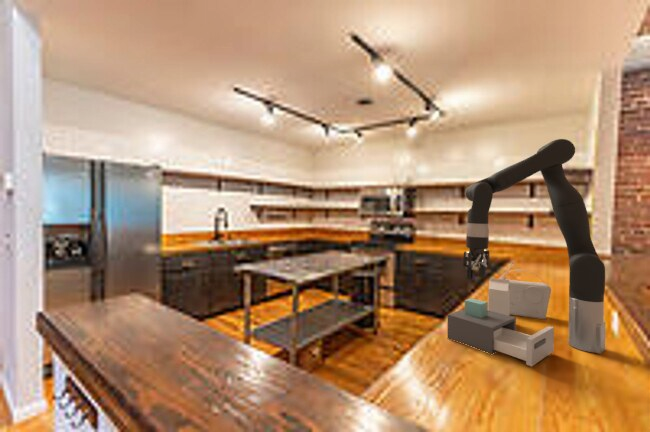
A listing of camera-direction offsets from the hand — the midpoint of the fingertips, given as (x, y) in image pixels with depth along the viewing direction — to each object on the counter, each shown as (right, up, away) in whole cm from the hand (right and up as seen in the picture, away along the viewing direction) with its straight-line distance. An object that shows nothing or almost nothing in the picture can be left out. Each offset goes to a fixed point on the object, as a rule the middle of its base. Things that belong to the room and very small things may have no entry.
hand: (476, 278), depth 112 cm
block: (0, -14, -1) cm, 14 cm away
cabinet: (+1, -23, -2) cm, 23 cm away
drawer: (+7, -22, -12) cm, 26 cm away
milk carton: (+18, -23, +16) cm, 34 cm away
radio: (+35, -23, +27) cm, 50 cm away
